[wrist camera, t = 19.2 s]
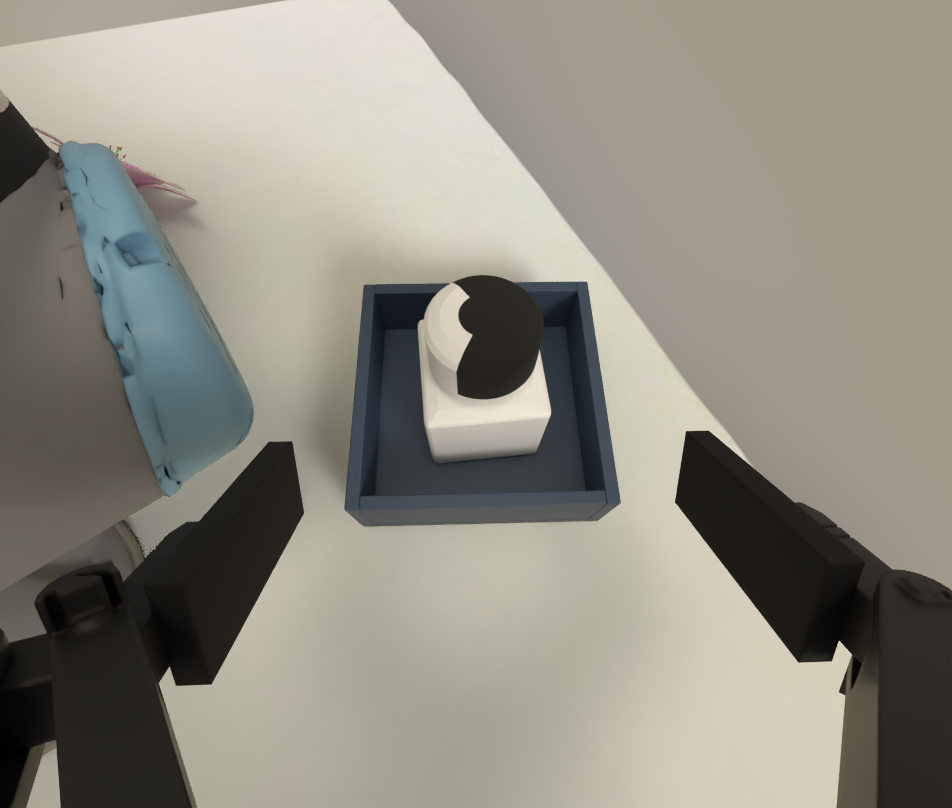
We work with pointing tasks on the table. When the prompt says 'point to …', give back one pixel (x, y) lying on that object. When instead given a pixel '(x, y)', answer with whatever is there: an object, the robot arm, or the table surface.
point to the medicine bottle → (482, 371)
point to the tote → (484, 480)
